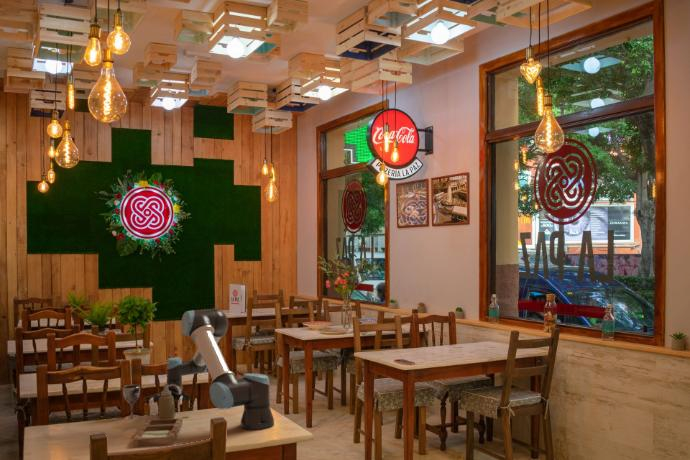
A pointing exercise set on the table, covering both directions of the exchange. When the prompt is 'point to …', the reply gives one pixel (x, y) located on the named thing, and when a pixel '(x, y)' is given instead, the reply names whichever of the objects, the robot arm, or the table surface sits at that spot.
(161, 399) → the squeeze bottle
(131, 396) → the wine glass
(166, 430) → the board
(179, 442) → the table surface
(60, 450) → the table surface
